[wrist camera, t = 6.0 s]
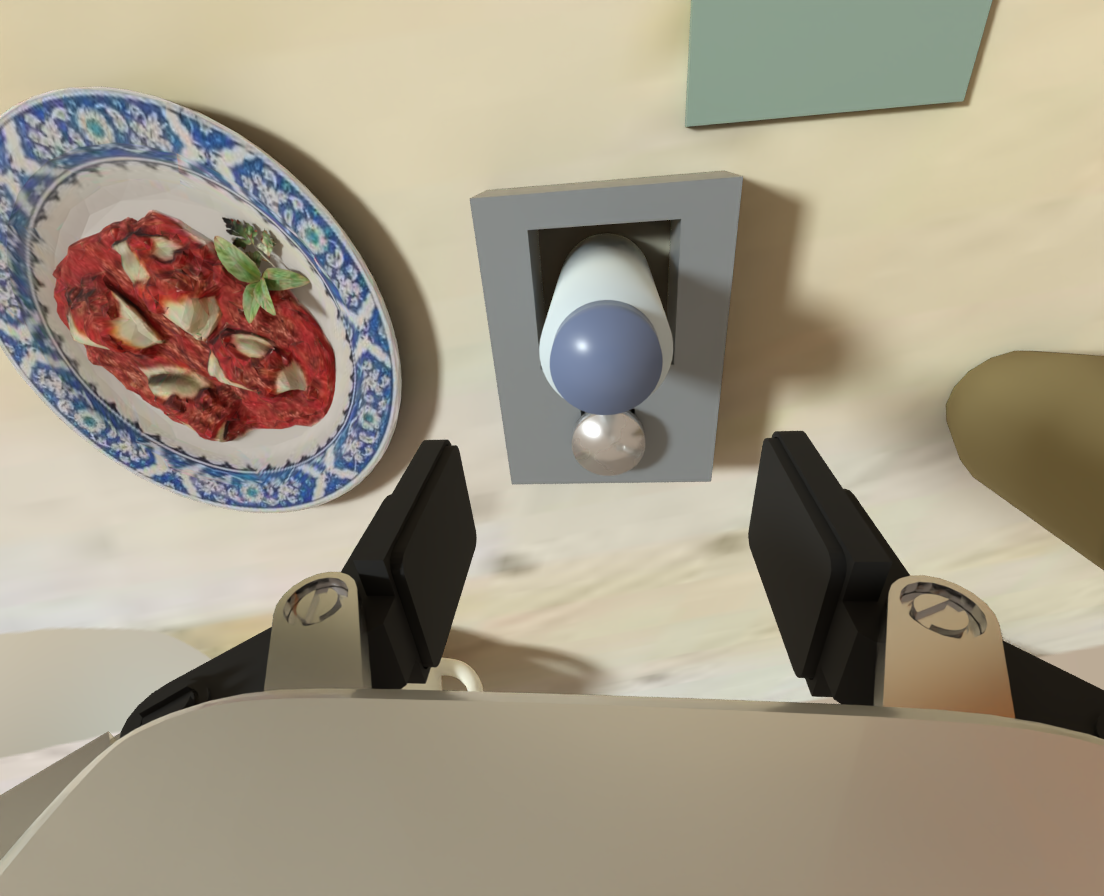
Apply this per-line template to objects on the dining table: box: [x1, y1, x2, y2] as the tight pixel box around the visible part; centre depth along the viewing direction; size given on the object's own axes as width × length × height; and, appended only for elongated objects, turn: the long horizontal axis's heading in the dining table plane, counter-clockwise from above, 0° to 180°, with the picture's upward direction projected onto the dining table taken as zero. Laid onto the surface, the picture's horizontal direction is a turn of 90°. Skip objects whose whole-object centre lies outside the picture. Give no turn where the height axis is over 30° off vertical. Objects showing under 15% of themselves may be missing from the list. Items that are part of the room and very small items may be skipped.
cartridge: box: [539, 233, 673, 415], centre depth 23 cm, size 5×5×12 cm
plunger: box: [572, 410, 645, 476], centre depth 30 cm, size 4×4×4 cm
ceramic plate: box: [0, 87, 402, 513], centre depth 31 cm, size 26×26×3 cm
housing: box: [470, 171, 743, 484], centre depth 28 cm, size 16×12×4 cm
